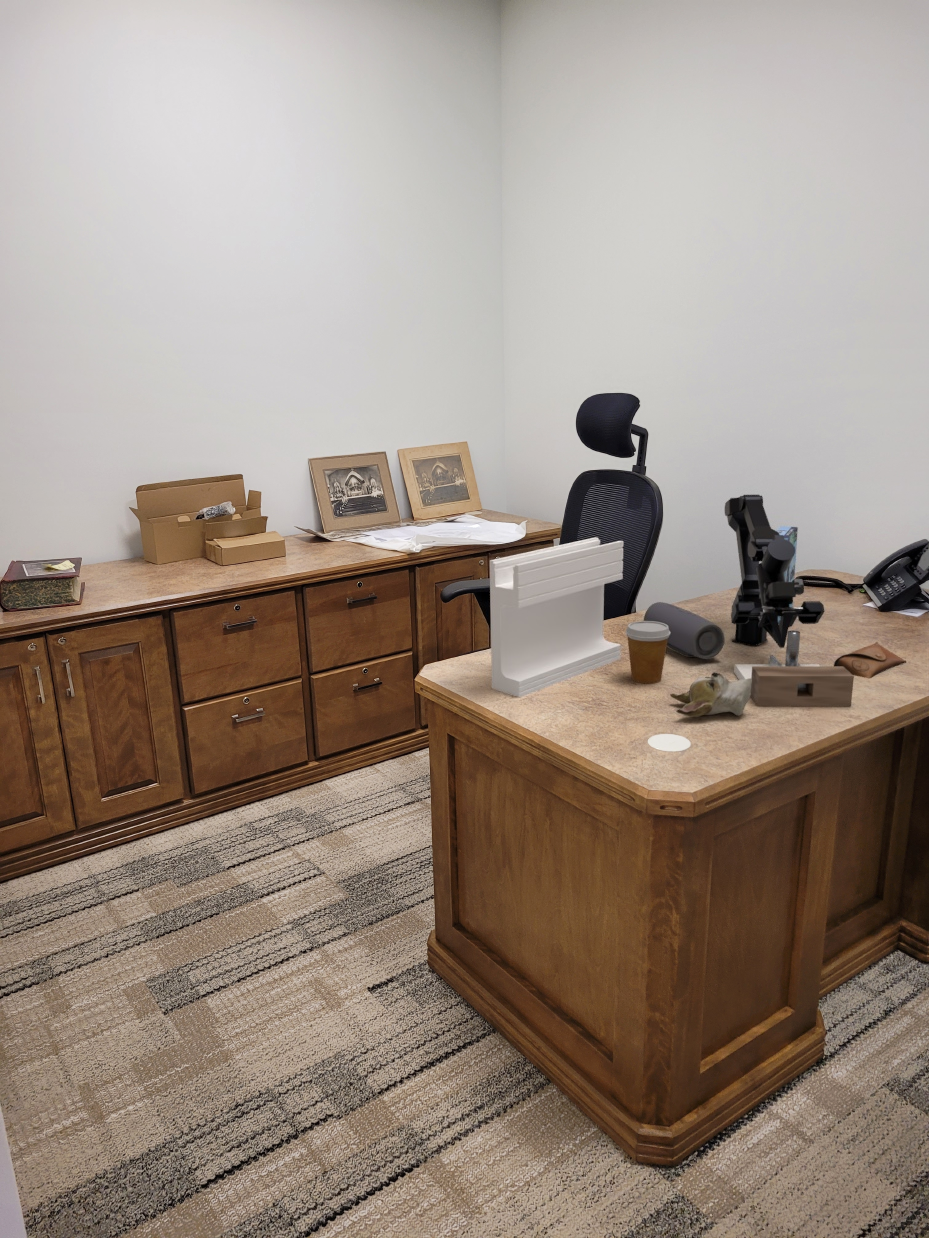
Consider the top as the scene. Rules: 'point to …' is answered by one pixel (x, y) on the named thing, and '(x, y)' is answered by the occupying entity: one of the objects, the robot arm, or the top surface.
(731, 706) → the ceramic sculpture
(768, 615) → the robot arm
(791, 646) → the bolt
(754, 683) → the door jamb
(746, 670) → the door panel
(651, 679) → the disposable coffee cup
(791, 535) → the light blue flat box
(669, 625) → the bluetooth speaker
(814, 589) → the top surface
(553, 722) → the top surface
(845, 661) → the sunglasses case
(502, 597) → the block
